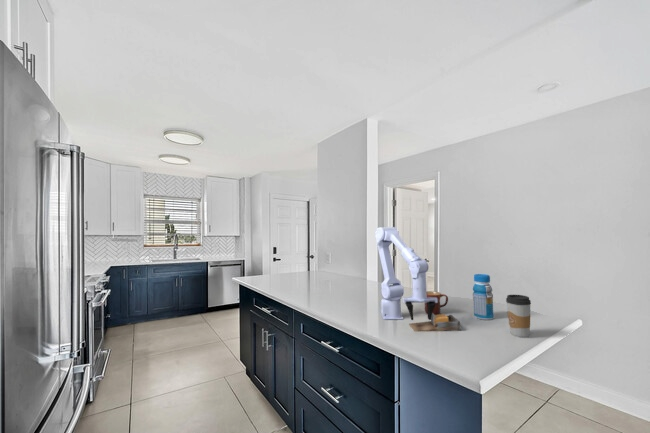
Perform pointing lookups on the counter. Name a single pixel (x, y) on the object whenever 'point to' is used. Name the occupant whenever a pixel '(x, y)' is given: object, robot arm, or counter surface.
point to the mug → (438, 306)
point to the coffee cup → (519, 315)
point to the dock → (442, 326)
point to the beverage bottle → (483, 297)
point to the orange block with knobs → (438, 319)
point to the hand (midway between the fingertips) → (420, 319)
